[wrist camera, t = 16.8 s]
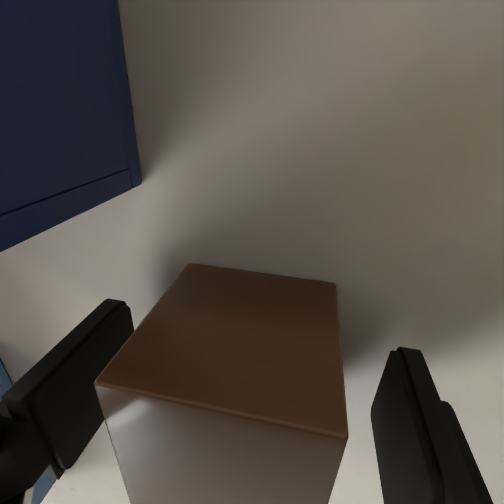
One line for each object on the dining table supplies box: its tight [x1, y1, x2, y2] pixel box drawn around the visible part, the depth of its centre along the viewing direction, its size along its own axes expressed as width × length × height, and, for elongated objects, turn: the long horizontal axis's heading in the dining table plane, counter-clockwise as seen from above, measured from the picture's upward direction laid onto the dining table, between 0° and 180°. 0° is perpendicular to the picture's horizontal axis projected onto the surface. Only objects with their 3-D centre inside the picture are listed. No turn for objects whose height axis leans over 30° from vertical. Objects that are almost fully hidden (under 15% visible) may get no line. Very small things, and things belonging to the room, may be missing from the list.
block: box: [94, 264, 349, 504], centre depth 9 cm, size 5×5×5 cm
